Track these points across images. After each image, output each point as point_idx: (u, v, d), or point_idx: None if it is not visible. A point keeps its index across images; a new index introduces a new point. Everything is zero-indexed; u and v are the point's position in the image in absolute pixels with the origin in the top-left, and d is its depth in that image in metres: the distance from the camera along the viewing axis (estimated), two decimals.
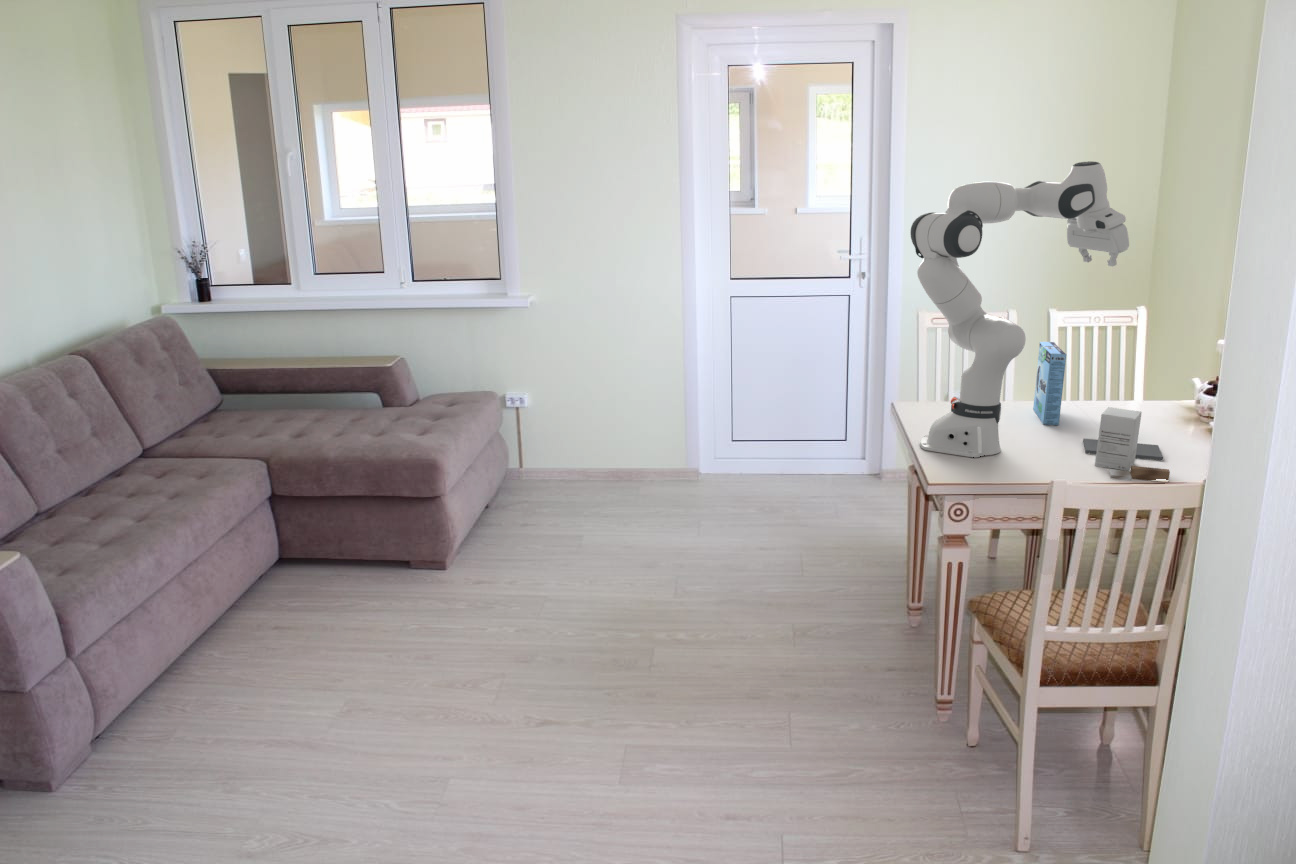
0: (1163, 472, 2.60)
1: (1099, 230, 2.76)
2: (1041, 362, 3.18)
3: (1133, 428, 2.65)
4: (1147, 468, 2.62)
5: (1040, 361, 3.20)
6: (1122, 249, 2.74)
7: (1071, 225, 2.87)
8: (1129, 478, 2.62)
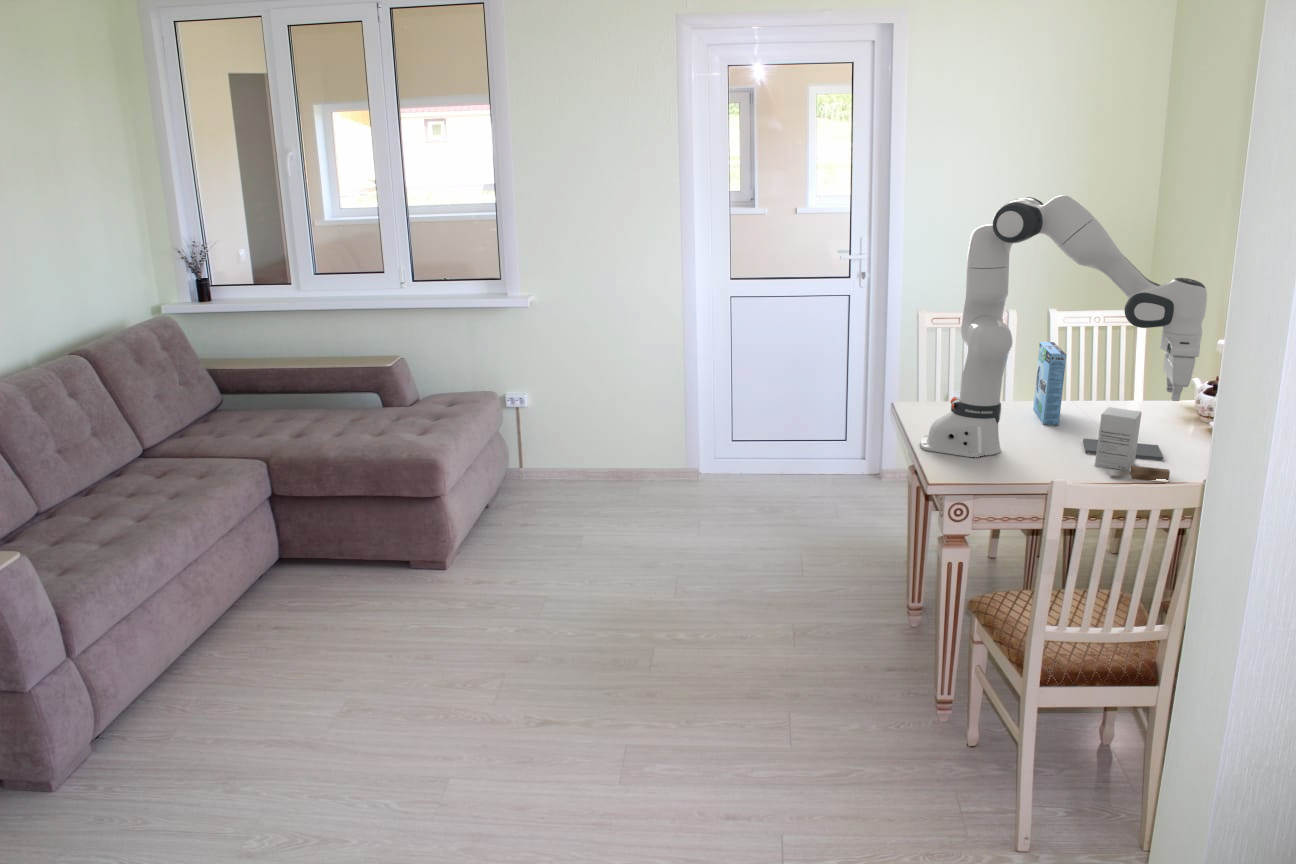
0: (1163, 472, 2.60)
1: (1169, 355, 2.48)
2: (1041, 362, 3.18)
3: (1133, 428, 2.65)
4: (1147, 468, 2.62)
5: (1040, 361, 3.20)
6: (1178, 382, 2.44)
7: None
8: (1129, 478, 2.62)
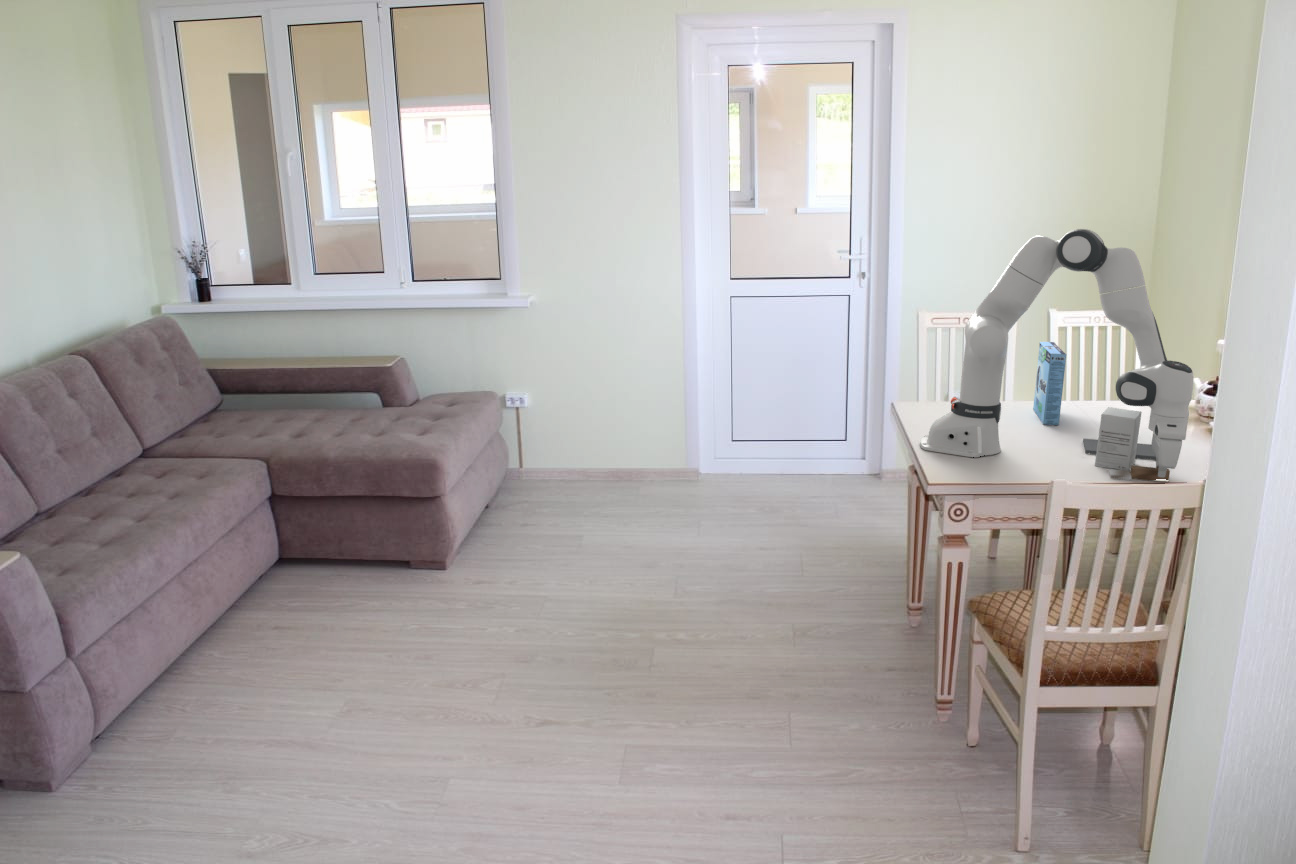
0: None
1: (1156, 436, 2.54)
2: (1041, 362, 3.18)
3: (1133, 428, 2.65)
4: (1147, 468, 2.62)
5: (1040, 361, 3.20)
6: (1165, 464, 2.51)
7: None
8: (1129, 478, 2.61)
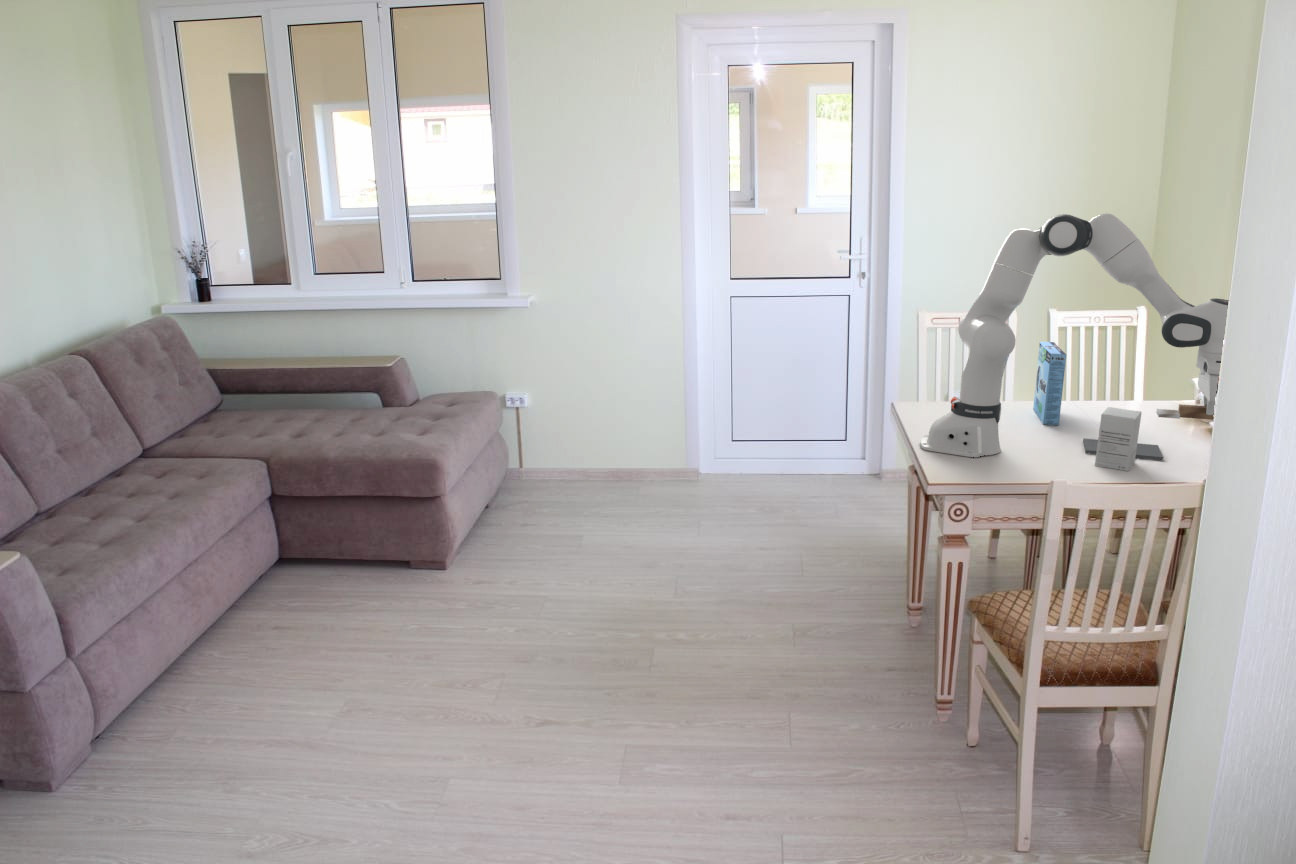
0: None
1: (1205, 373, 2.56)
2: (1041, 362, 3.18)
3: (1133, 428, 2.65)
4: (1195, 406, 2.63)
5: (1040, 361, 3.20)
6: (1214, 400, 2.52)
7: None
8: (1177, 416, 2.63)
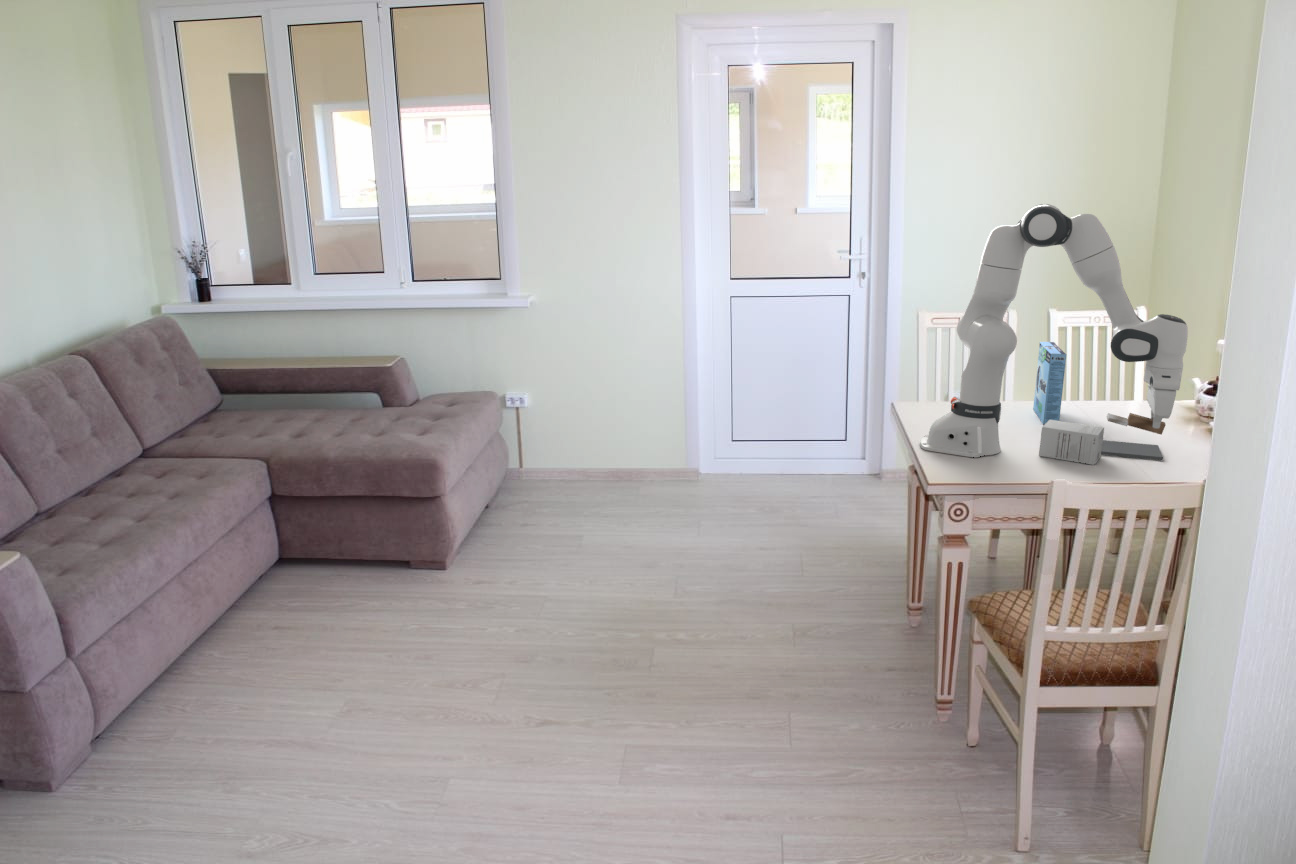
0: None
1: (1151, 387, 2.61)
2: (1041, 362, 3.18)
3: (1051, 429, 2.77)
4: (1144, 417, 2.68)
5: (1040, 361, 3.20)
6: (1159, 414, 2.57)
7: None
8: (1126, 424, 2.68)
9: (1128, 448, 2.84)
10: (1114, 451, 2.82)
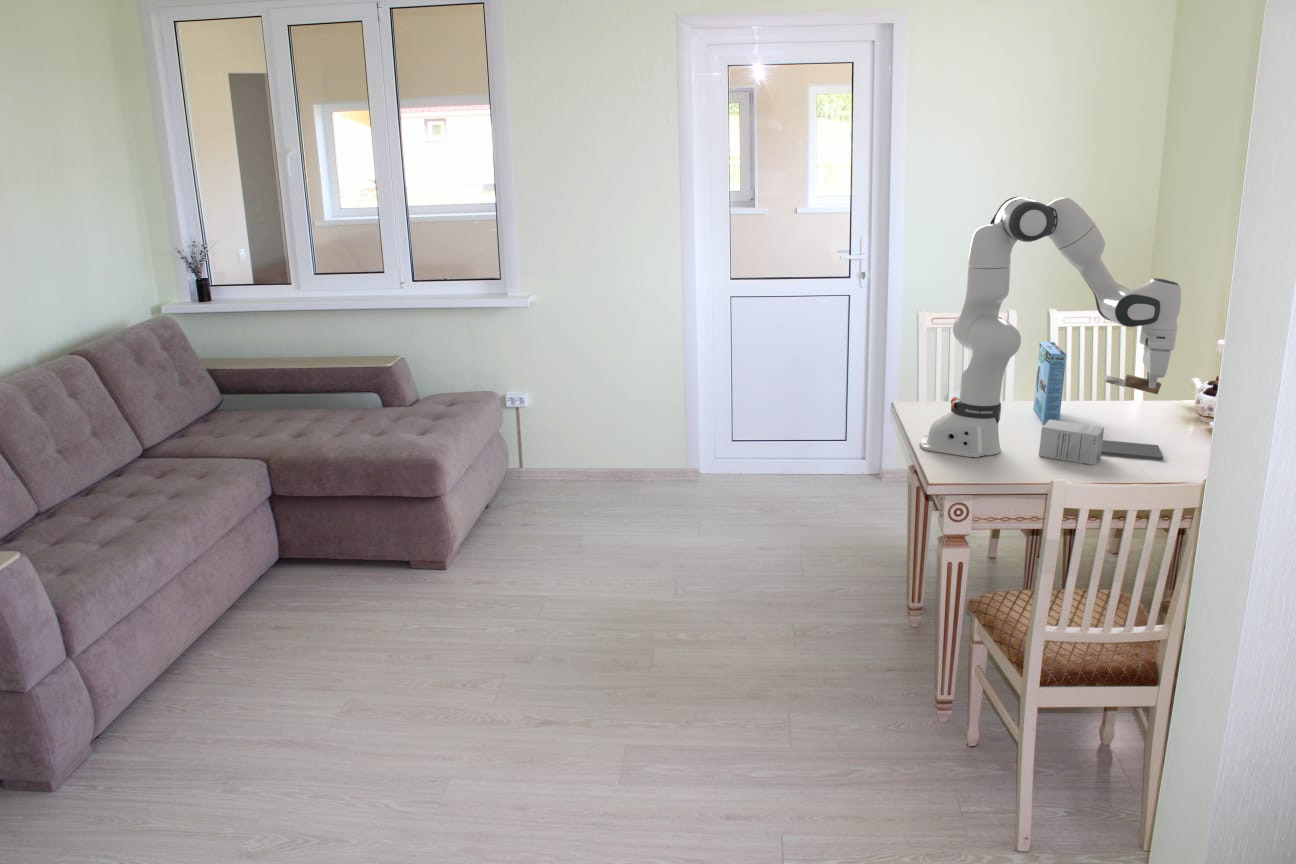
0: None
1: (1147, 348, 2.72)
2: (1041, 362, 3.18)
3: (1051, 429, 2.77)
4: (1141, 378, 2.79)
5: (1040, 361, 3.20)
6: (1155, 373, 2.68)
7: None
8: (1123, 384, 2.79)
9: (1128, 448, 2.84)
10: (1114, 451, 2.82)
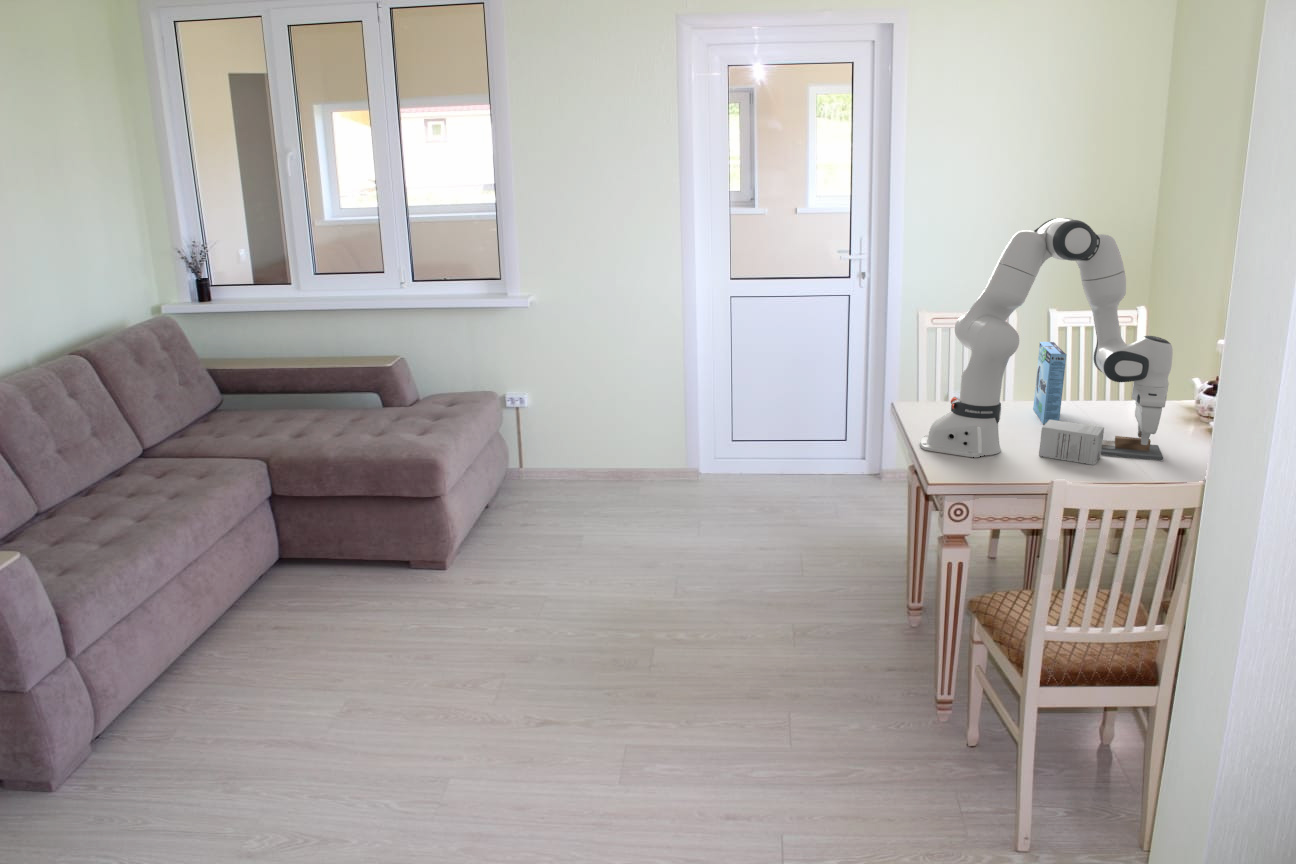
0: None
1: (1139, 404, 2.77)
2: (1041, 362, 3.18)
3: (1051, 429, 2.77)
4: (1130, 438, 2.84)
5: (1040, 361, 3.20)
6: (1146, 430, 2.73)
7: None
8: (1113, 447, 2.84)
9: None
10: (1114, 451, 2.82)
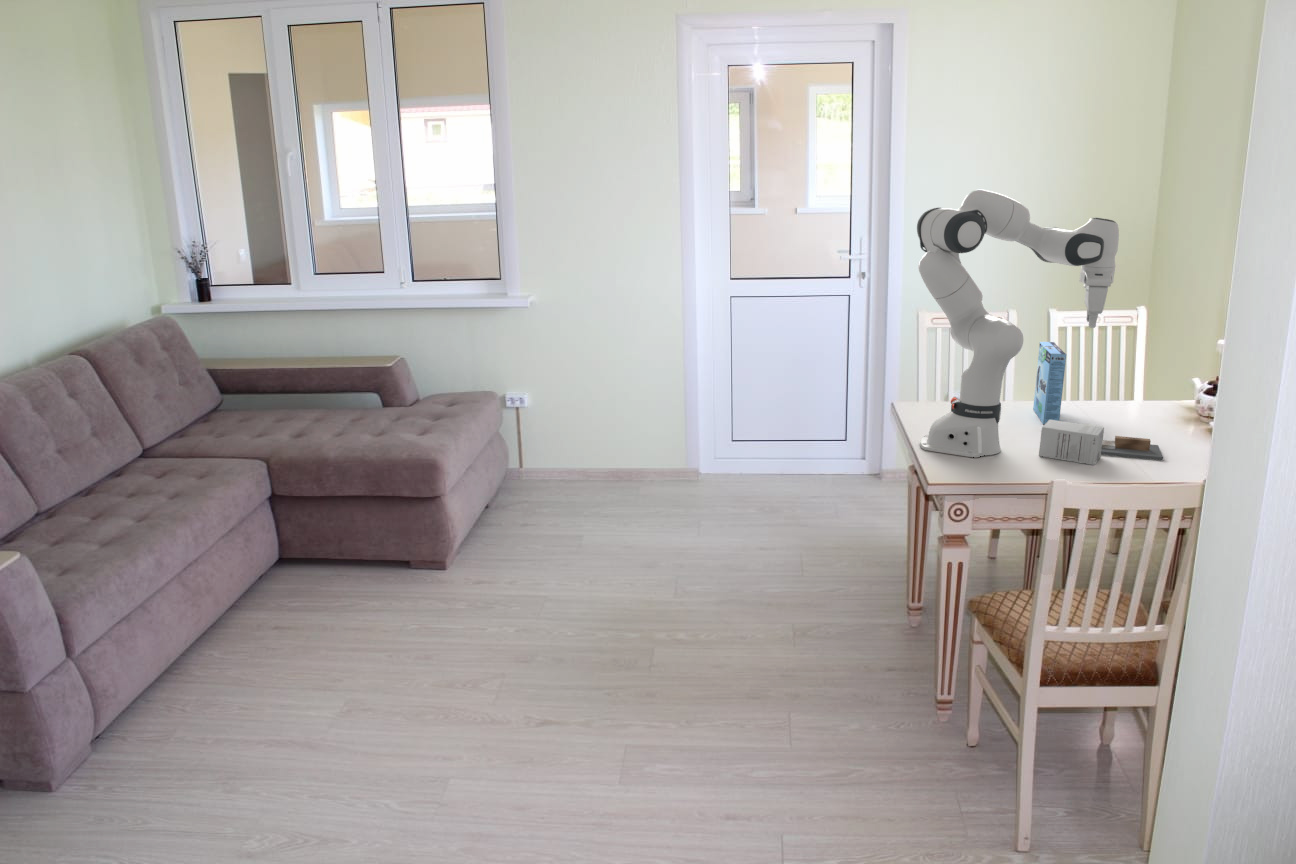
0: (1144, 441, 2.82)
1: (1086, 286, 2.78)
2: (1041, 362, 3.18)
3: (1051, 429, 2.77)
4: (1130, 438, 2.84)
5: (1040, 361, 3.20)
6: (1092, 309, 2.75)
7: None
8: (1113, 447, 2.84)
9: None
10: (1114, 451, 2.82)
